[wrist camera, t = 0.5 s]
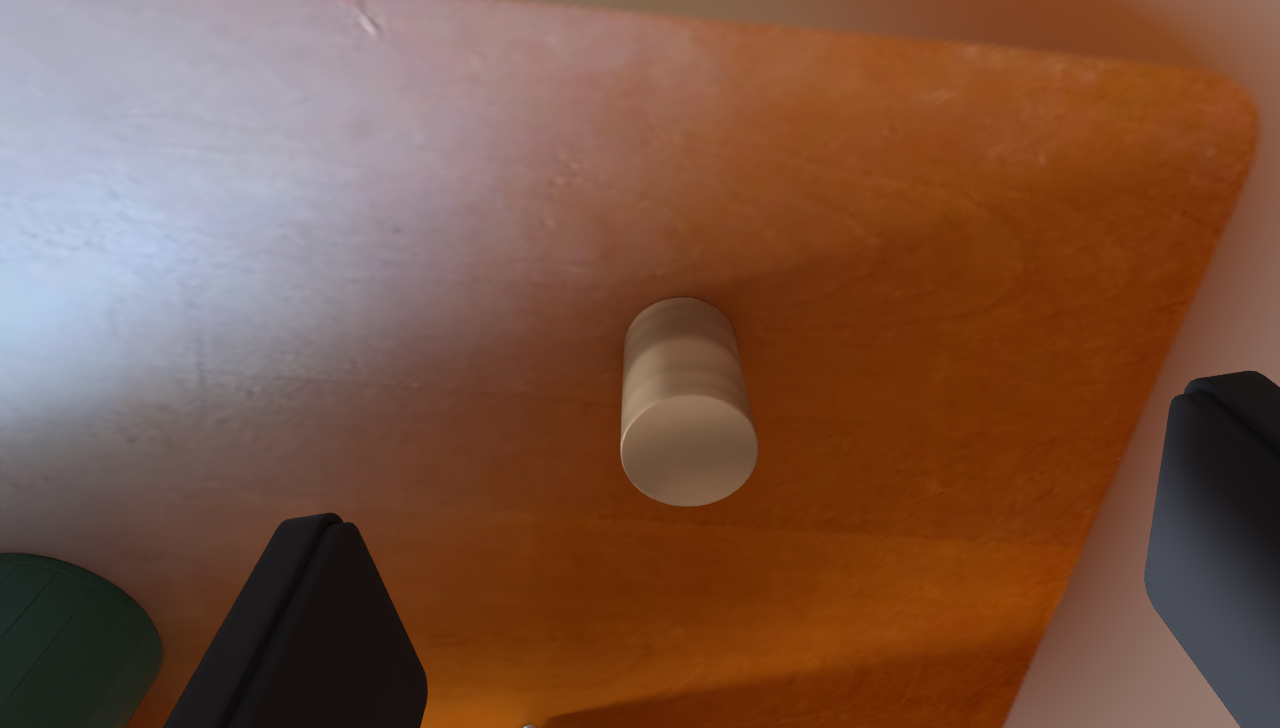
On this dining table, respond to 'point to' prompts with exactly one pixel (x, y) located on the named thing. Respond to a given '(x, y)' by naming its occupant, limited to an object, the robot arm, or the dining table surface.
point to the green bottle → (70, 647)
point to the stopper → (685, 405)
